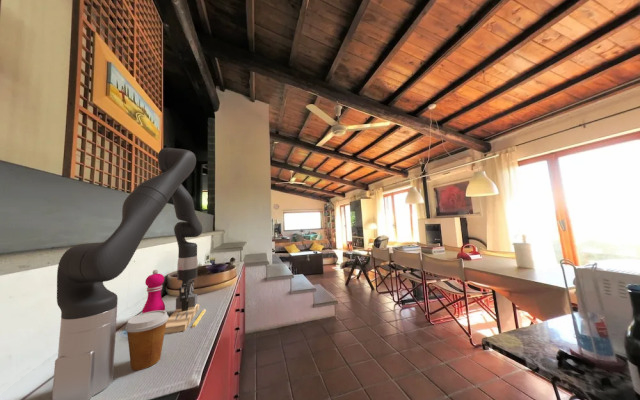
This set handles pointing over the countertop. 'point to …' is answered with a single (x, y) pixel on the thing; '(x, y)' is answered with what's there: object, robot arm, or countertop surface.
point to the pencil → (198, 318)
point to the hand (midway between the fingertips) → (186, 308)
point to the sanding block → (191, 302)
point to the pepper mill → (154, 293)
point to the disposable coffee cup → (146, 338)
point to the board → (180, 320)
